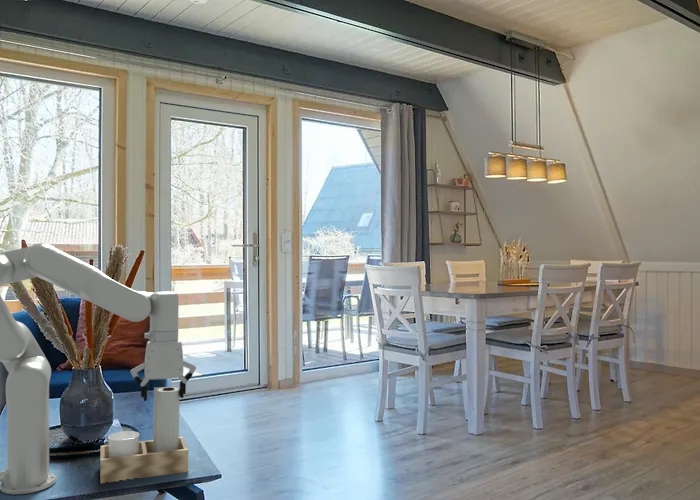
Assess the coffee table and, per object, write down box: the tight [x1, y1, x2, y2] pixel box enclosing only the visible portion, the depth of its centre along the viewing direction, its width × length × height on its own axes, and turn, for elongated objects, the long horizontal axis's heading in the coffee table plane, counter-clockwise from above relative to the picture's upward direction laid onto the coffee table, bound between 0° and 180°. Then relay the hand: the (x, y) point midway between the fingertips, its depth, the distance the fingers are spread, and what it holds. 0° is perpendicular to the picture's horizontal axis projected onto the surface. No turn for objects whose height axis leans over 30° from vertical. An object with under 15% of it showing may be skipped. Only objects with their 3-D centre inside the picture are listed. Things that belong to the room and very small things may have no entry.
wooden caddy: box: [99, 436, 189, 484], centre depth 165 cm, size 22×12×6 cm, turn 112°
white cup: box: [107, 430, 140, 458], centre depth 163 cm, size 8×8×10 cm
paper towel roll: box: [152, 386, 181, 453], centre depth 169 cm, size 7×6×21 cm
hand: (163, 398), depth 167 cm, fingers open, 9 cm apart
